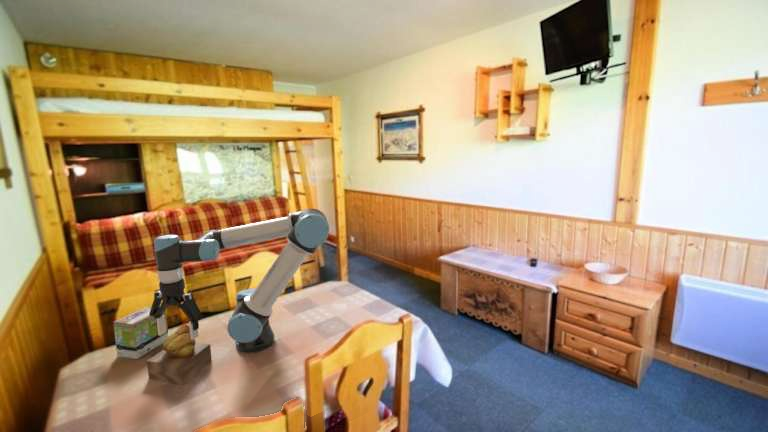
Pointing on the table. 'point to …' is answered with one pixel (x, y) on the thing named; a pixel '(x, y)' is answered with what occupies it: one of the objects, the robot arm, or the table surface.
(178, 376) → the walnut block
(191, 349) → the bread roll
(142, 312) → the tea box
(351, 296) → the table surface
